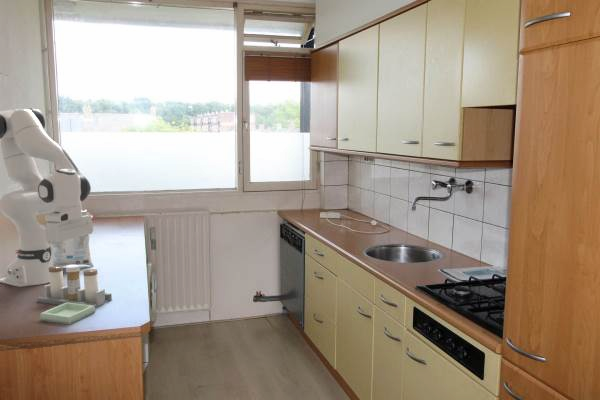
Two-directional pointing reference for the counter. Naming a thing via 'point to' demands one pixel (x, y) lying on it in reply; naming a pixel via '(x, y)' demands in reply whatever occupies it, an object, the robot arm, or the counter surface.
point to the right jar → (90, 285)
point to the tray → (67, 313)
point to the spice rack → (99, 296)
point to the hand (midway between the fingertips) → (71, 250)
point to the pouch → (71, 253)
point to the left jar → (56, 280)
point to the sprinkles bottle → (73, 281)
